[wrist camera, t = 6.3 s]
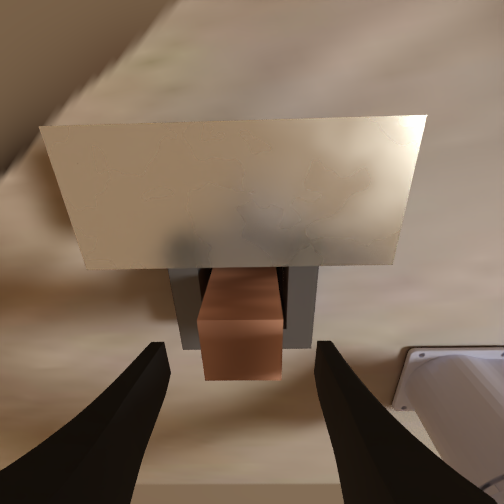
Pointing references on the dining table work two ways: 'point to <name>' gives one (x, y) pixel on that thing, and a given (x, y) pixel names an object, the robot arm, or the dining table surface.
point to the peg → (241, 325)
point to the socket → (293, 299)
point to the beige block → (236, 191)
